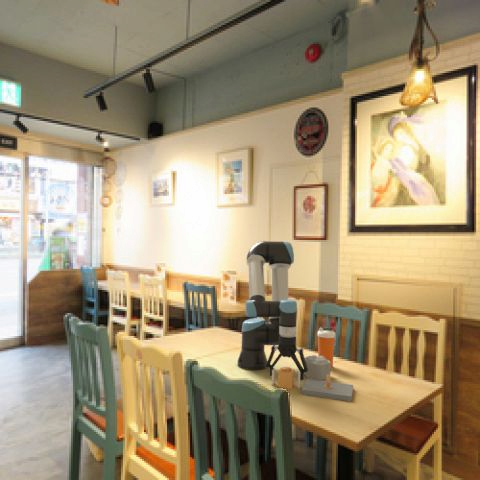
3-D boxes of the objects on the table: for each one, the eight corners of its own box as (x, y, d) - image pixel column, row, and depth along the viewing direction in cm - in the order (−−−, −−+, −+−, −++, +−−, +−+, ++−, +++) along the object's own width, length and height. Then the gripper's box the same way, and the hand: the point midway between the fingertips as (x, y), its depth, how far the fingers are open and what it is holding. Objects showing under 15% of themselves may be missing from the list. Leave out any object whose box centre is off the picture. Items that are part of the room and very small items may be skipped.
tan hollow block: (277, 387, 176) (278, 369, 176) (281, 382, 181) (281, 365, 181) (291, 389, 174) (292, 371, 174) (294, 384, 180) (294, 367, 180)
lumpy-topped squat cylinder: (317, 381, 185) (317, 362, 185) (298, 372, 196) (298, 354, 196) (333, 377, 191) (333, 358, 191) (314, 369, 202) (314, 352, 202)
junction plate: (301, 394, 168) (302, 377, 168) (307, 383, 182) (307, 367, 182) (351, 401, 162) (351, 383, 162) (353, 389, 175) (353, 373, 175)
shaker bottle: (334, 370, 202) (335, 329, 202) (316, 368, 203) (317, 328, 203) (334, 364, 210) (335, 326, 210) (316, 363, 212) (317, 325, 212)
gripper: (259, 334, 178) (258, 384, 178) (313, 340, 170) (311, 392, 170) (263, 331, 185) (262, 379, 185) (315, 336, 177) (314, 386, 177)
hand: (286, 385), depth 178 cm, fingers open, 11 cm apart
